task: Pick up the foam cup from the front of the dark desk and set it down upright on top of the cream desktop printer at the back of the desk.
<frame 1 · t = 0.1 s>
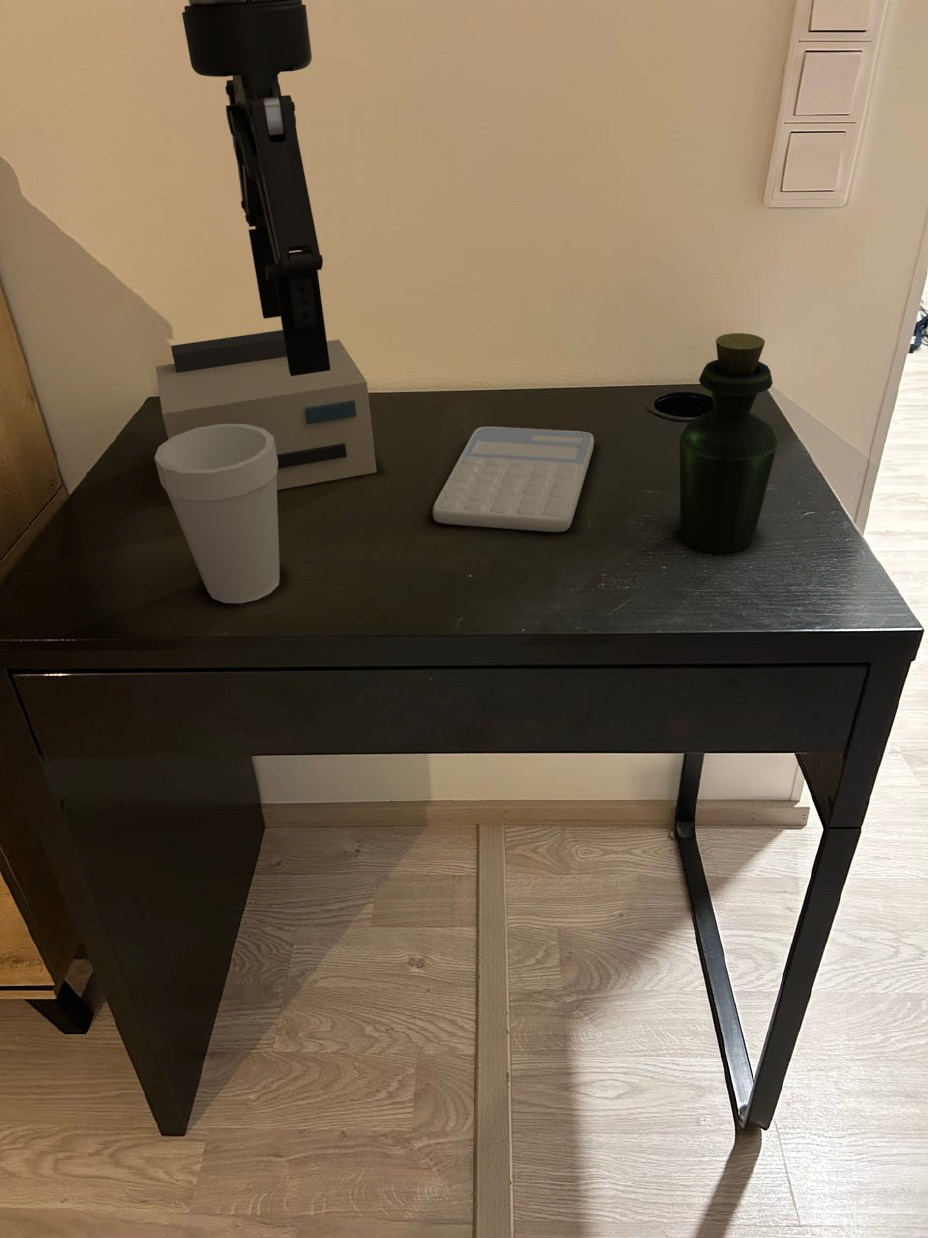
hand: (294, 341, 70), 22 cm above the table, tool pointing down, fingers open, 13 cm apart
foam cup: (244, 585, 84), on the table
calculator: (518, 484, 98), on the table
potion bottle: (716, 537, 87), on the table
printer: (273, 461, 104), on the table
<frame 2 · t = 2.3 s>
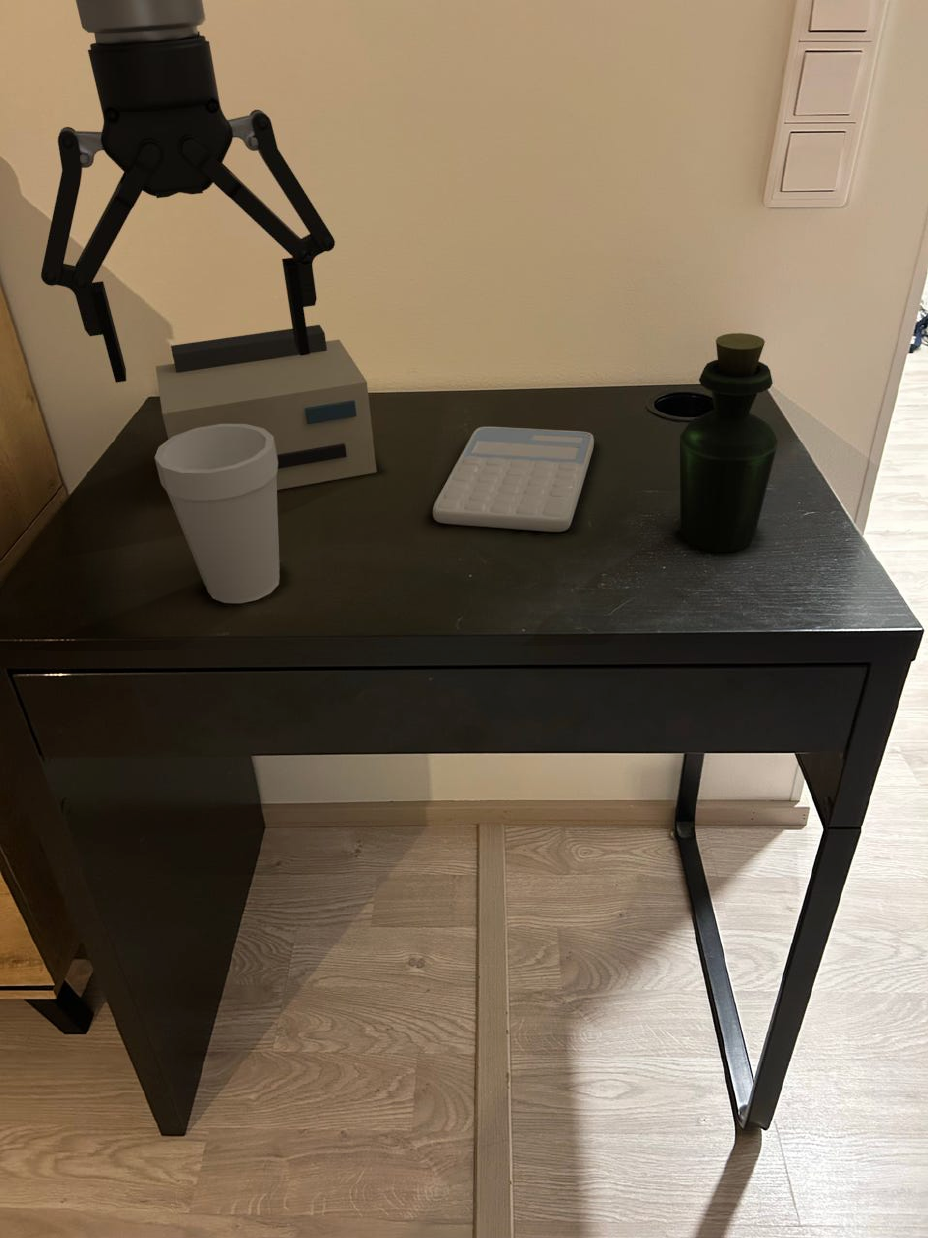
hand: (213, 362, 72), 20 cm above the table, tool pointing down, fingers open, 13 cm apart
nothing on the table moved.
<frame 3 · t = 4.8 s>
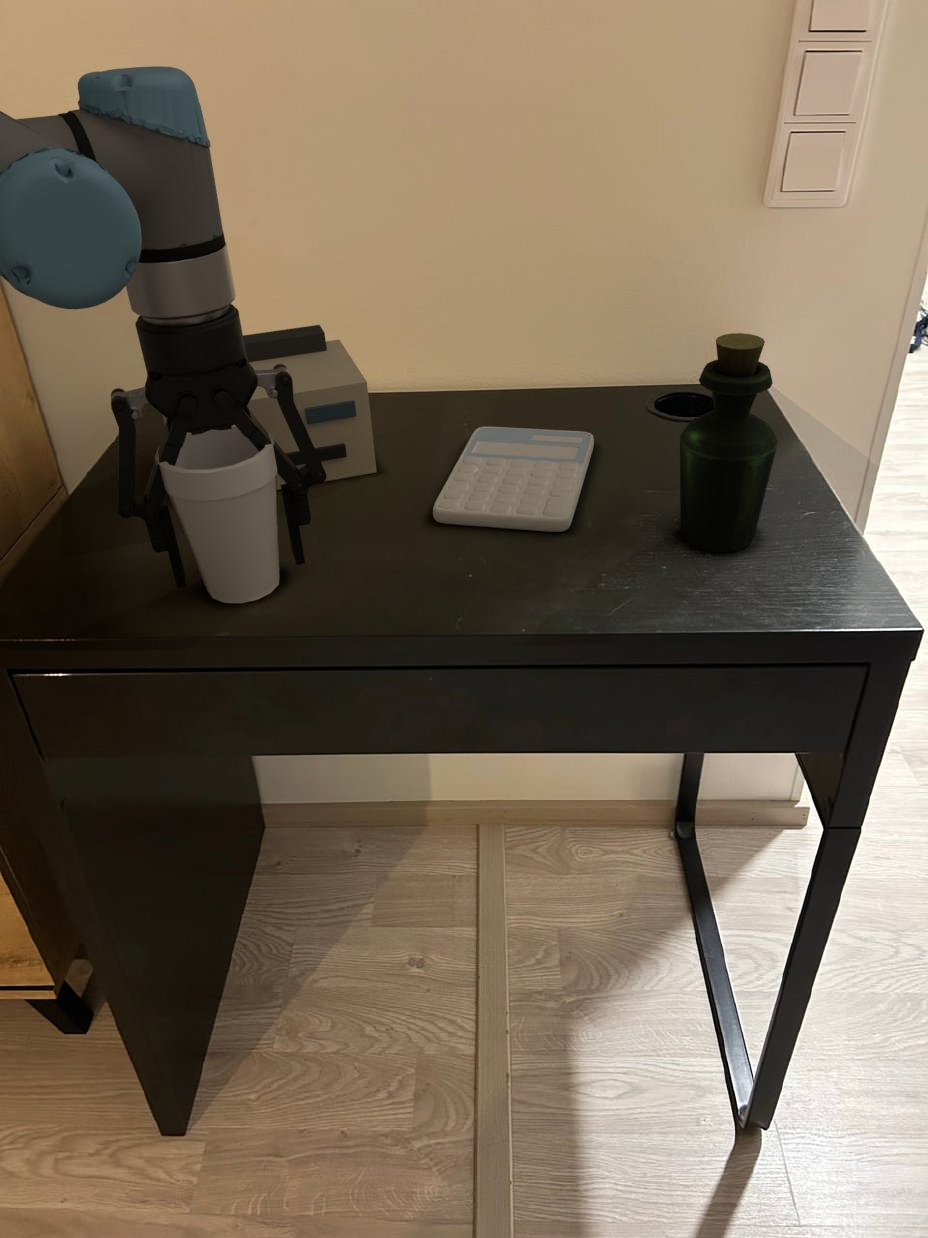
hand: (240, 568, 83), 2 cm above the table, tool pointing down, fingers closed on foam cup, 9 cm apart
foam cup: (244, 585, 84), on the table, touching gripper
everything else where it was.
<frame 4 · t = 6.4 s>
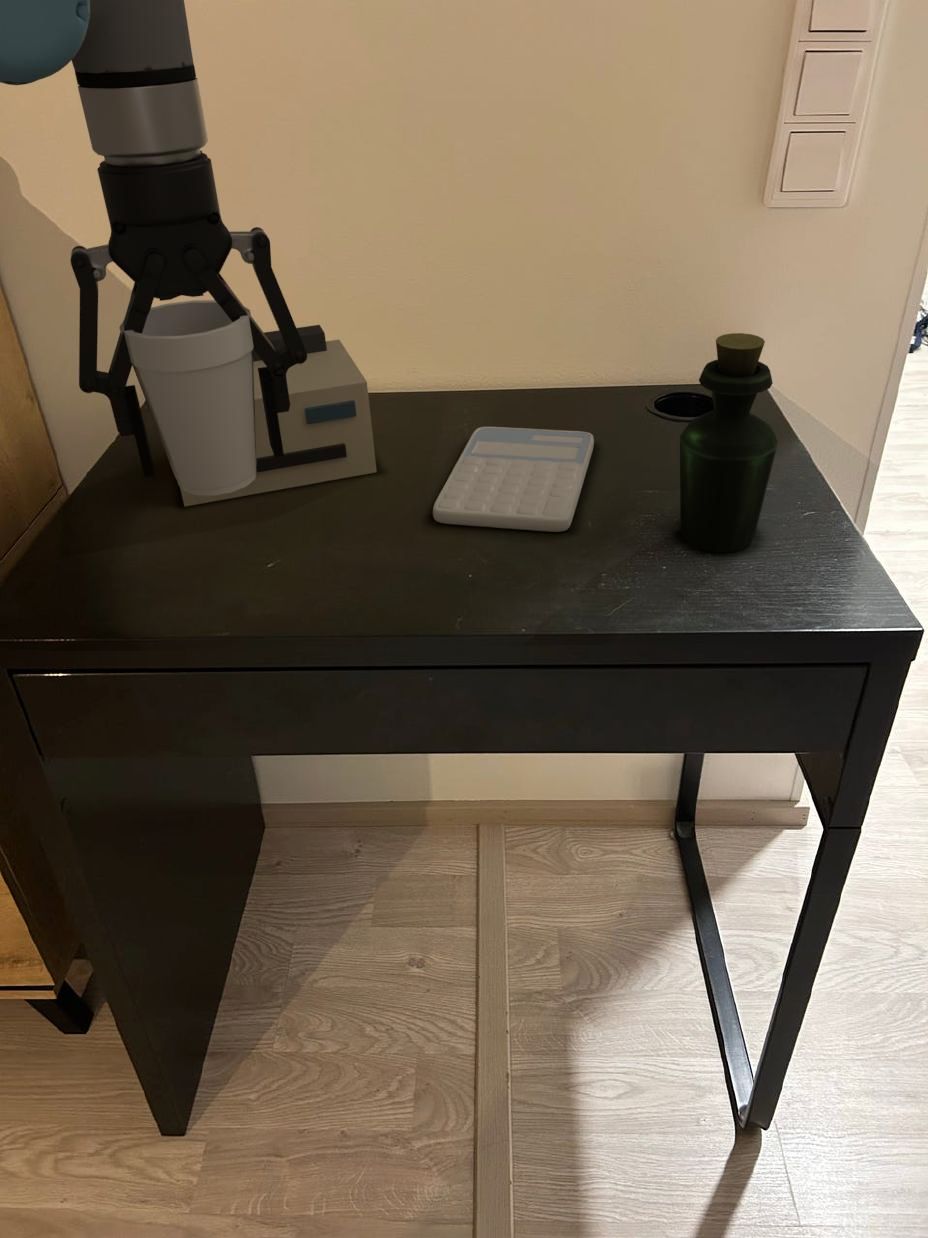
hand: (214, 459, 77), 12 cm above the table, tool pointing down, fingers closed on foam cup, 9 cm apart
foam cup: (218, 480, 78), point 10 cm above the table, touching gripper
everything else where it was.
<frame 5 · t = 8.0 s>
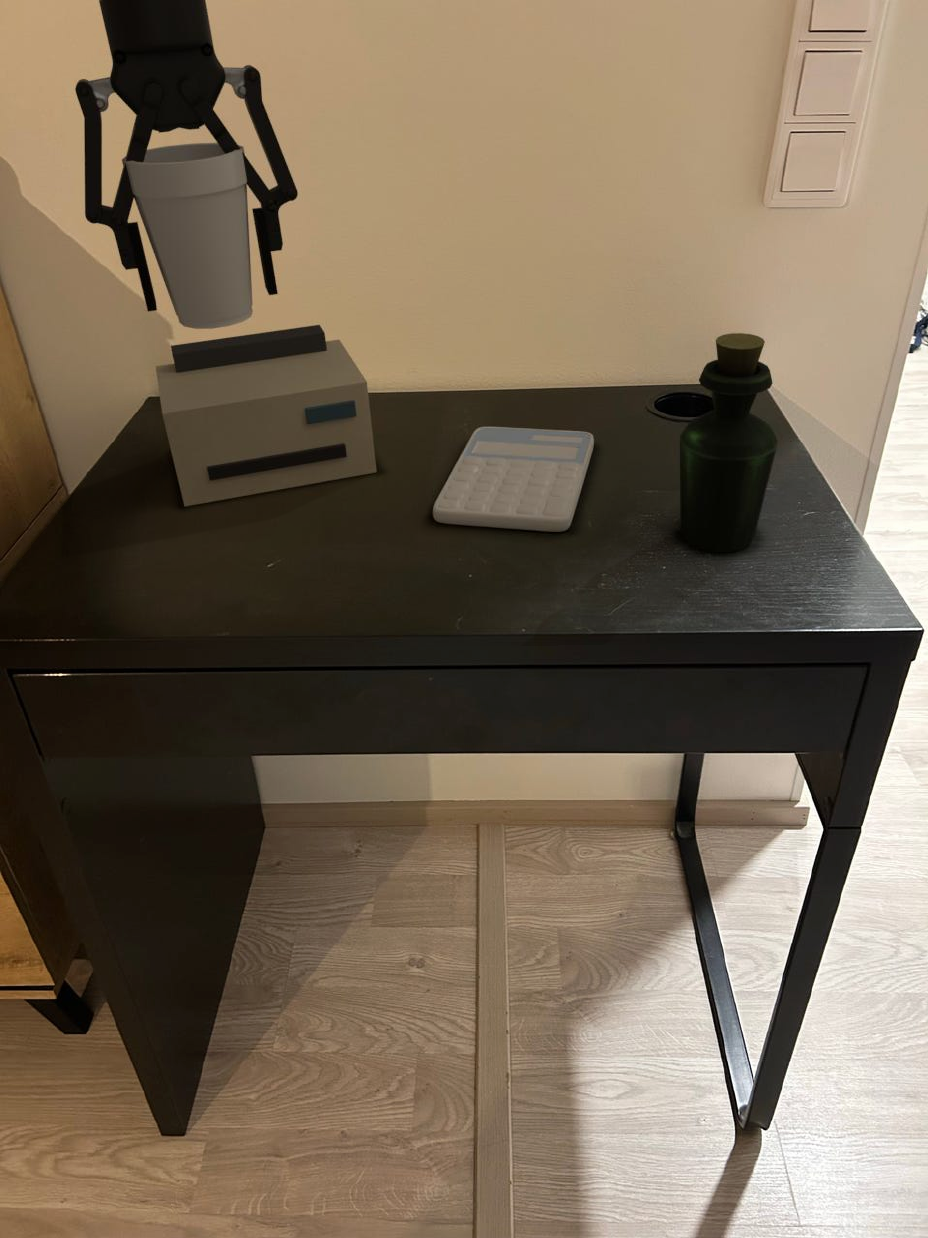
hand: (212, 298, 82), 21 cm above the table, tool pointing down, fingers closed on foam cup, 9 cm apart
foam cup: (216, 319, 83), point 19 cm above the table, touching gripper
everything else where it was.
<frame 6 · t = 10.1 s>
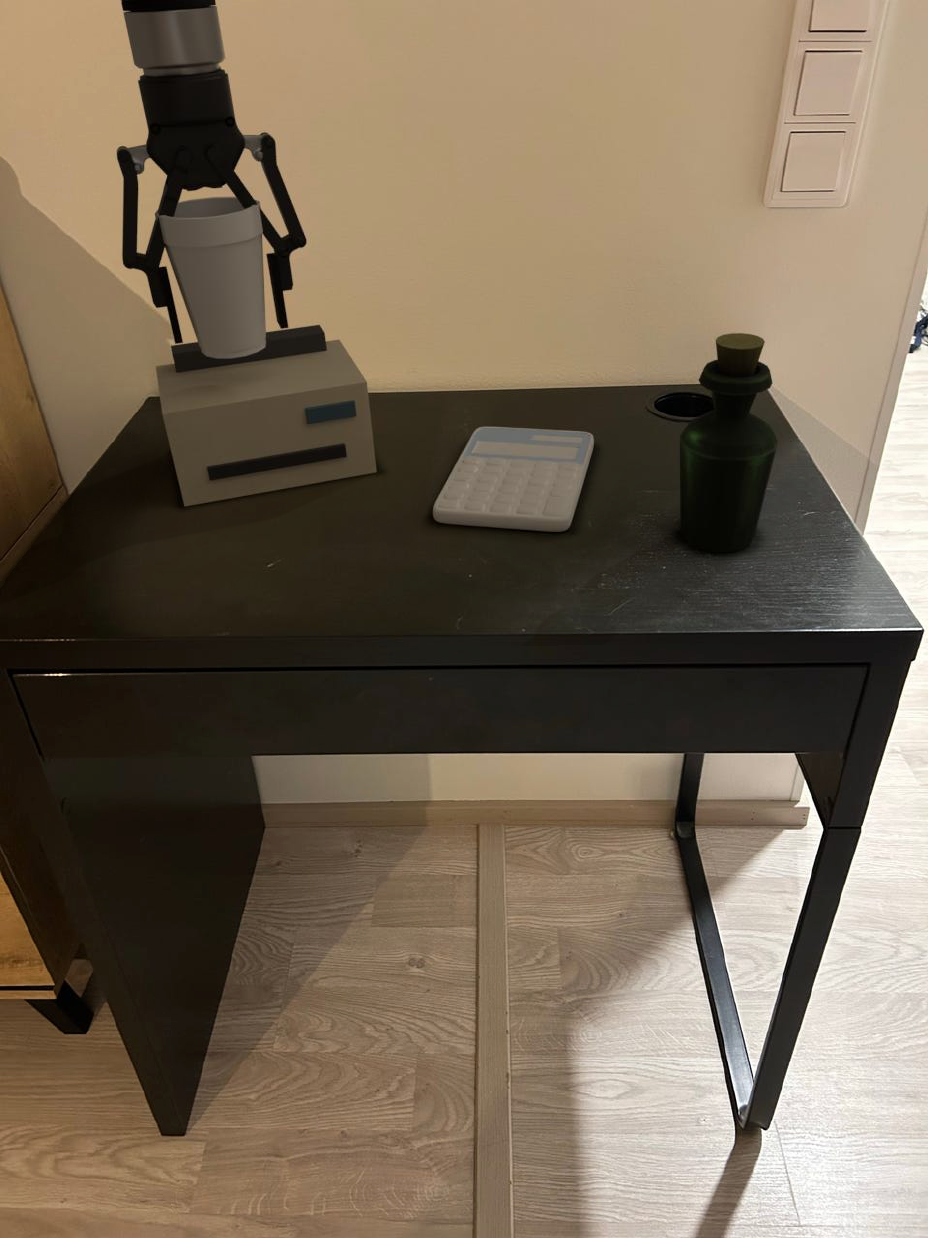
hand: (231, 331, 94), 15 cm above the table, tool pointing down, fingers closed on foam cup, 9 cm apart
foam cup: (234, 349, 95), point 13 cm above the table, touching gripper
everything else where it was.
when the fingers open (12 cm above the table, at t = 11.6 s): foam cup stays where it is, resting on printer.
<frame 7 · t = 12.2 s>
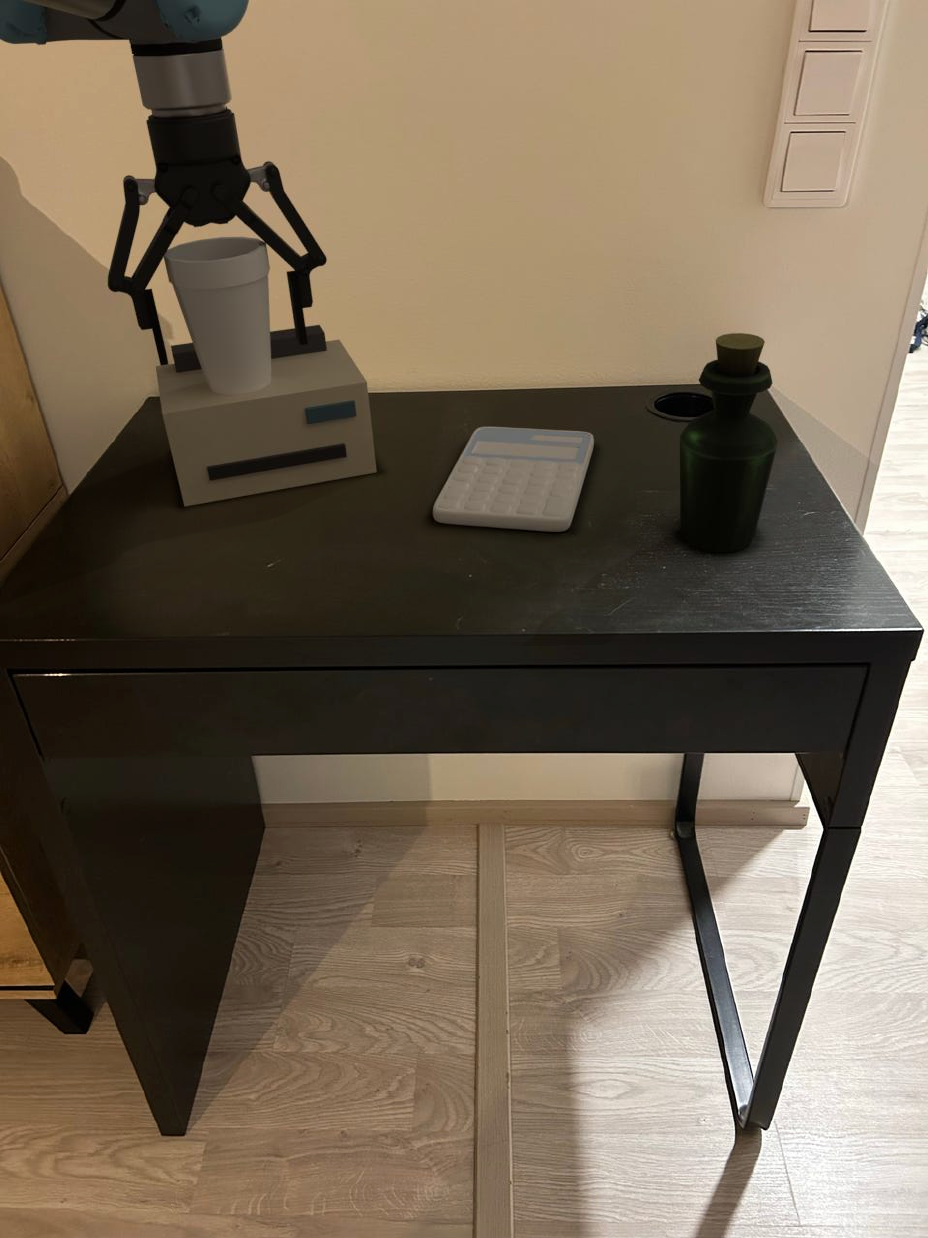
hand: (234, 350, 95), 13 cm above the table, tool pointing down, fingers open, 13 cm apart
foam cup: (240, 384, 97), point 10 cm above the table, touching printer
everything else where it was.
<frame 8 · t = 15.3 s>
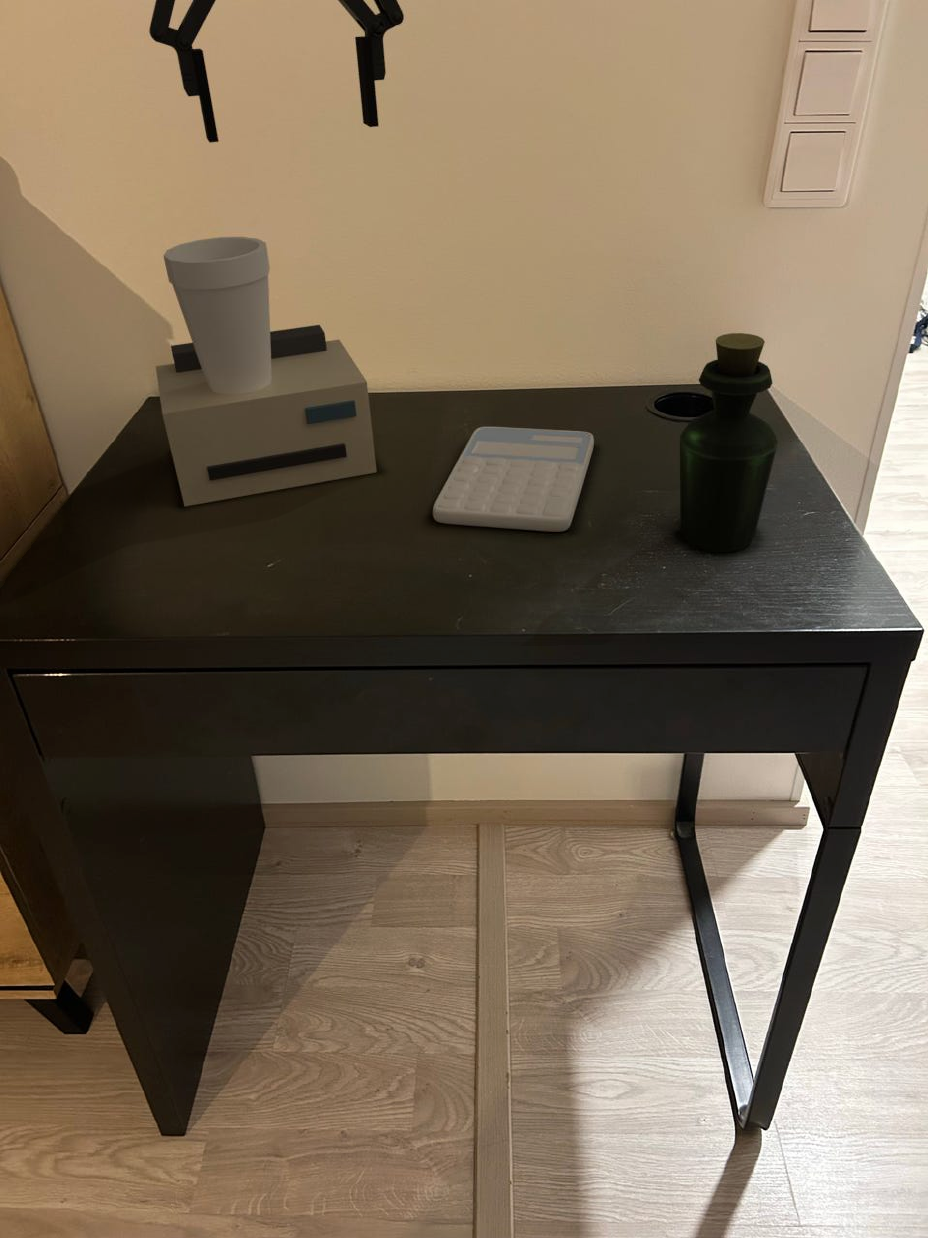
hand: (293, 132, 81), 33 cm above the table, tool pointing down, fingers open, 13 cm apart
nothing on the table moved.
at the end: foam cup inside the target area on the printer (2.5 cm from its centre), point 9.8 cm above the printer's base; foam cup tilted 0° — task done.
